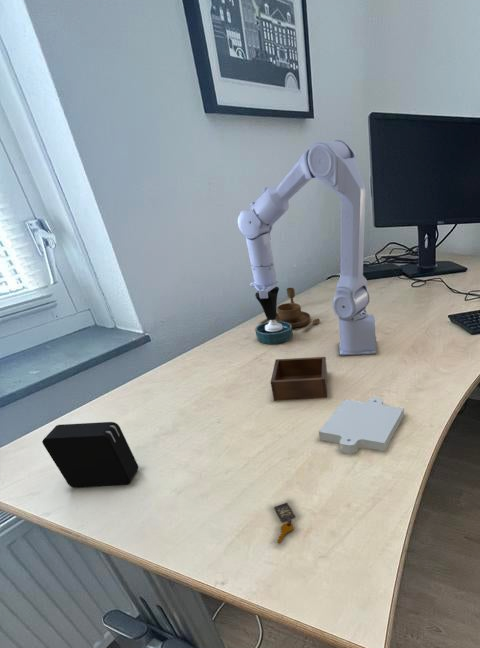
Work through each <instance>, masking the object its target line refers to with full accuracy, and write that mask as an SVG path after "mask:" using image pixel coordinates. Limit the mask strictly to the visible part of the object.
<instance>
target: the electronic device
mask: <svg viewBox="0 0 480 648" xmlns="http://www.w3.org/2000/svg"><path fill="white" fill-rule="evenodd" d="M41 443H42V445H43V447H44V448H45V450H46V451H47V453H48V454H49V457H51V460H52V461H53V462H54V464H55V466H56V467H57V469H58V470H59V472H60V474H61V475H62V477H63V478H64V480H65V482H66V483H67V486H69V487H70V488H74V489H83V488H85V489H86V488H98V487H101V488H103V487H115V486H116V487H117V486H118V487H119V486H128V485H130V483H131V482H132V481H133V479H134V477H135V475H136V473H137V471H138V470H139V464H138V463H137V459H136V458H135V456H134V453H133V452H132V450H131V448H130V445H129V443H128V442H127V439H126V438H125V435H124V432H123V430H122V429H121V426H120V425H119V424H118V423H117V422H114V421H100V422H85V423H83V422H82V423H81V422H80V423H65V424H63V423H62V424H57V425H55V426H54V428H53V429H51V431H50V432H49V433H48V434H46V436H45V437H44V438H43V439H42V441H41Z"/></svg>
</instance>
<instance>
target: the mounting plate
mask: <svg viewBox="0 0 480 648" xmlns="http://www.w3.org/2000/svg"><path fill="white" fill-rule="evenodd" d="M404 412H405V408H404V407H401V406H393V405H385V404H384V400H383V399H382V398H381V397H370V398H368V400H367V401H358V400H352V399H345V398H344V399H343V401H341V403H340V405H339V406H338V407H337V408H336V409H335V411H334V412H333V413H332V414H331V416H329V418H328V419H327V421H325V423H324V424H323V426H322V427H321V428H320V429H319V431H318V436H319V441H322V442H327V443H333V444H339V448H340V452H341V453H343V454H348V455H353V454H355V453H357V451H358V450H359V449H369V450H373V451H379V452H385V451H386V450H387V448H388V446H389V444H390V442H391V440H392V438H393V437H394V435H395V433H396V432H397V429H398V428H399V426H400V424H401V423H402V420H403V418H404V416H405V413H404Z"/></svg>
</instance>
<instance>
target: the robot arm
mask: <svg viewBox="0 0 480 648" xmlns="http://www.w3.org/2000/svg"><path fill="white" fill-rule="evenodd" d="M313 179H318V180H319V181H320V182H322V183H324V184H325V185H326V186H329V187H330V188H331V189H332V190H333V191H334V193H335V194H336V195H337V196H338V197H339V199H340V276H339V279H338V281H337V283H336V286H335V295H334V297H333V298H332V299H333V300H332V309H333V311H334V313H335V315H336V316H337V317H338V328H339V329H338V330H339V339H340V340H339V341H340V342H339V343H338V346H339V350H338V351H339V356H355V355H356V356H357V355H374V354H377V336H376V320H375V319H376V318H375V315H374V314H369V313H367V306H368V305H369V303H370V300H371V297H370V296H371V295H370V291H369V289H368V280H367V278H366V277H365V275H364V254H365V253H364V251H365V250H364V249H365V247H364V246H365V224H366V223H365V221H366V193H367V191H366V185H365V182H364V179H363V177H362V173H361V171H360V168H359V165H358V162H357V153H356V152H355V151H354V150H353V149H352V147H350V145H349V144H348V143H347V142H346V141H344V140H341V139H335V140H332V141H316V142H314V143H312V145H311V146H310V148H309V149H307V150H305V151H304V152H303V153H302V155H301V157H300V158H299V160H297V162H296V163H295V164H294V166H293V167H292V168H291V169H290V170H289V171H288V173H287V174H286V176H285V177H284V178H283V179H282V181H281V182H280V183H279V184H278V186H274V185H269V186H265V187H263V188H262V189H261V193H262V194H261V195H260V196H259V198H257V199H256V201H252V202H251V203H250V204H249V205H250V209H249V210H248V209H244V210H241V211H240V212H239V215H238V217H237V226H238V230H239V231H240V233H241V234H242V236H244V237H245V242H246V246H247V252H248V257H249V261H250V262H249V263H250V268H251V273H252V277H253V281H251V282H250V283H249V286H250V287H251V288H255V289H256V291H257V292H255V294H254V296H255V299H256V300H257V301H258V303H259V304H260V306H261V308H262V311H263V313H264V315H265V318H266V319H268V320H267V321H270V320H275V318H276V314H277V312H278V311H277V307H278V295H279V291H280V287H279V286H278V285H279V283H278V280H277V274H276V269H275V263H274V256H273V251H272V244H271V232H272V231H273V225H275V223H277V221H278V220H279V219H280V218H281V217H283V215H284V214H286V212H287V211H288V210H289V200H290V199H291V198H292V197H293V196H295V195H296V194H297V193H298V192H299V191H300V190H301V189H302V188H303V187H304V186H306V185H307V183H308V182H310V181H311V180H313Z"/></svg>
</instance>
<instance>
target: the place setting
mask: <svg viewBox="0 0 480 648" xmlns="http://www.w3.org/2000/svg"><path fill="white" fill-rule="evenodd" d="M286 294H287V297H288V298H289V299H290V302H286V303H281V304H279V305H277V314H276V318H275V320H276V321H283V322H288V323H290V324H291V325H292V329H297V328H298V329H299V328H301V327H304V326H305V325H307V324H308V323H310V320H311V315H310V313H308V312H306V311H302V307H301V305H300V304H299V303H295V302H294V301H295V300H294V298H295V297H296V296H295V295H296V291H295V288H294V287H286ZM268 321H269V320H268V319H267V318H266V319H264V320H262V321H261V322H260V324H262V323H266V322H268ZM319 322H320V318H316V319H313V320H312V323H311V324H310V325H308V326H307V327H306V328H305V329H304V331H308V330H309V329H310V328H311V327H312V326H313V325H316V324H318V323H319Z"/></svg>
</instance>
